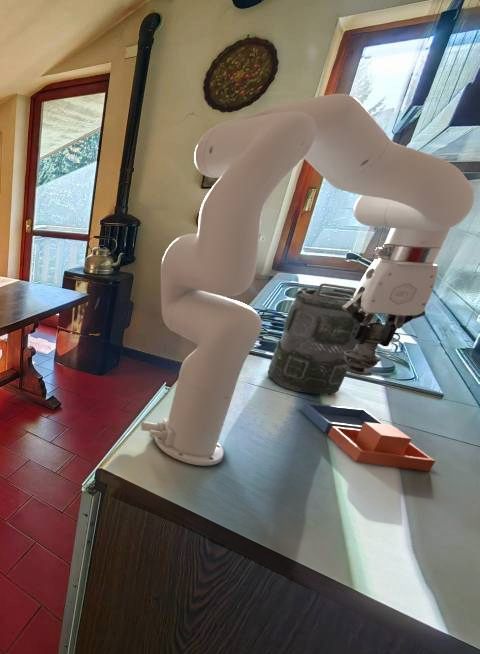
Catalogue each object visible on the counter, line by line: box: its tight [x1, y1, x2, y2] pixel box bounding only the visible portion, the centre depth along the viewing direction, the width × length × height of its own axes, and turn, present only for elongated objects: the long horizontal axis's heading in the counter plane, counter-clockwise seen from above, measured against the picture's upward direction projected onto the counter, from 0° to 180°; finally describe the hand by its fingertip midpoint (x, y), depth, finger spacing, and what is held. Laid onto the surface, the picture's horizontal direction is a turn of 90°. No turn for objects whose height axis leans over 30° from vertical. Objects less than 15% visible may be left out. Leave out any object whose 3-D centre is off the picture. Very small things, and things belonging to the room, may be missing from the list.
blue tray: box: [301, 402, 385, 434], centre depth 89 cm, size 12×9×2 cm
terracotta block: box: [355, 422, 412, 455], centre depth 79 cm, size 5×5×5 cm
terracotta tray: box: [327, 426, 436, 472], centre depth 80 cm, size 12×9×2 cm
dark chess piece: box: [340, 317, 385, 377], centre depth 82 cm, size 6×6×12 cm
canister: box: [267, 283, 366, 396], centre depth 104 cm, size 16×16×28 cm
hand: (368, 342), depth 82 cm, fingers closed on dark chess piece, 3 cm apart
